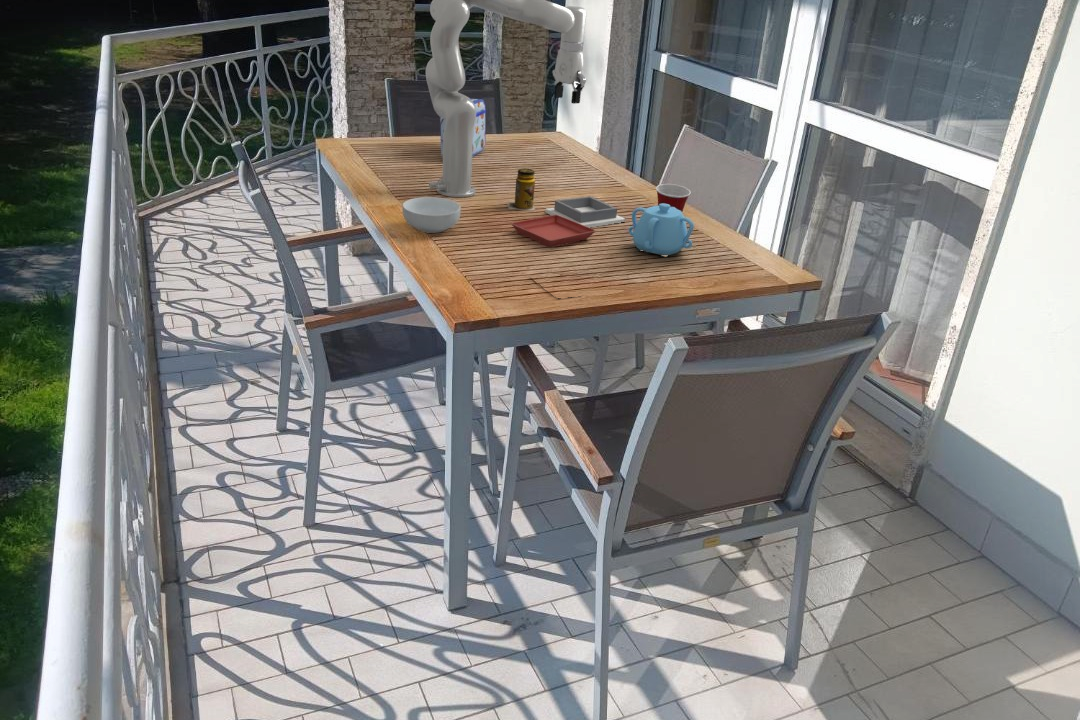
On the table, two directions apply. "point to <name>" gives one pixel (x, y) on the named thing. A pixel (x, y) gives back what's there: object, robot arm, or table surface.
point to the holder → (586, 211)
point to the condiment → (524, 190)
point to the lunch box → (478, 130)
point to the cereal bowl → (431, 213)
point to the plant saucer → (553, 230)
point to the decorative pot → (661, 230)
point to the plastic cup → (672, 195)
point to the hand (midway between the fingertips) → (566, 100)
